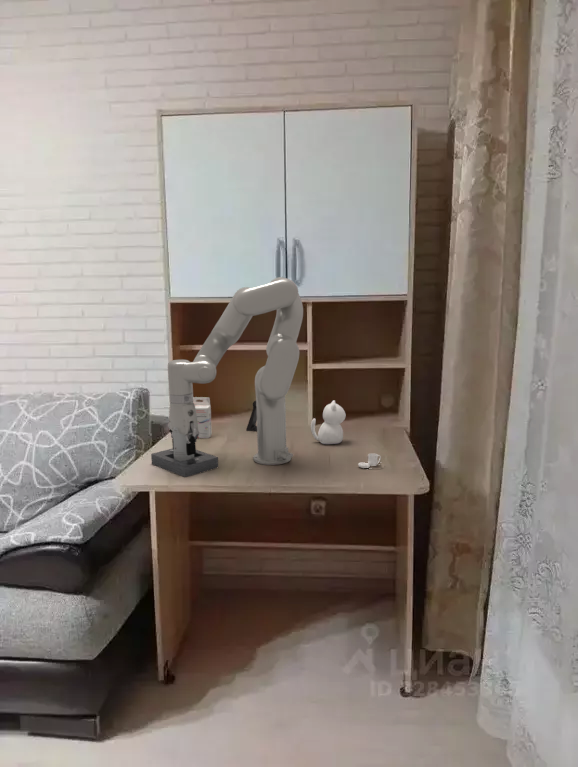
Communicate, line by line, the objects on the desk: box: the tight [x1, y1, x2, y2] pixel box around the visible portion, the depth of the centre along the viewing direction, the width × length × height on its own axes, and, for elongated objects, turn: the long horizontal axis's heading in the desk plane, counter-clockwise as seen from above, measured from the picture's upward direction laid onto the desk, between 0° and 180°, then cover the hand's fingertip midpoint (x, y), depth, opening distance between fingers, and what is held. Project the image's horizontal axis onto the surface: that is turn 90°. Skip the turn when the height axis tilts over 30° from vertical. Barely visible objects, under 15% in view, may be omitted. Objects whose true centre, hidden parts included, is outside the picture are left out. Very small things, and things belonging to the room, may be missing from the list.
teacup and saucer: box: [357, 453, 382, 469], centre depth 217 cm, size 9×8×4 cm
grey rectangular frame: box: [150, 447, 219, 478], centre depth 221 cm, size 19×13×4 cm
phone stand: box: [246, 399, 257, 432], centre depth 262 cm, size 9×6×12 cm, turn 74°
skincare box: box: [172, 427, 194, 462], centre depth 220 cm, size 6×4×12 cm
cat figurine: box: [310, 400, 347, 445], centre depth 242 cm, size 9×12×15 cm
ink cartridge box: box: [193, 396, 213, 439], centre depth 254 cm, size 9×5×15 cm, turn 84°
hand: (184, 451), depth 220 cm, fingers closed on skincare box, 7 cm apart
